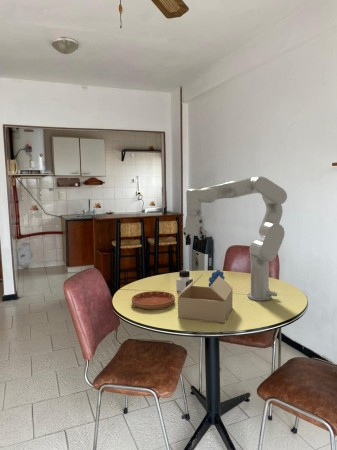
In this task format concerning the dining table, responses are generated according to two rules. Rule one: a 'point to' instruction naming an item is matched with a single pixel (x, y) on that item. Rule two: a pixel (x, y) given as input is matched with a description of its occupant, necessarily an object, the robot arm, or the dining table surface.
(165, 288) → the dining table surface
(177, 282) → the medicine bottle
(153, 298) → the saucer
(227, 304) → the carton
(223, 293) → the near flap
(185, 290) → the far flap
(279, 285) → the dining table surface
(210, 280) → the grapes
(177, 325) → the dining table surface
